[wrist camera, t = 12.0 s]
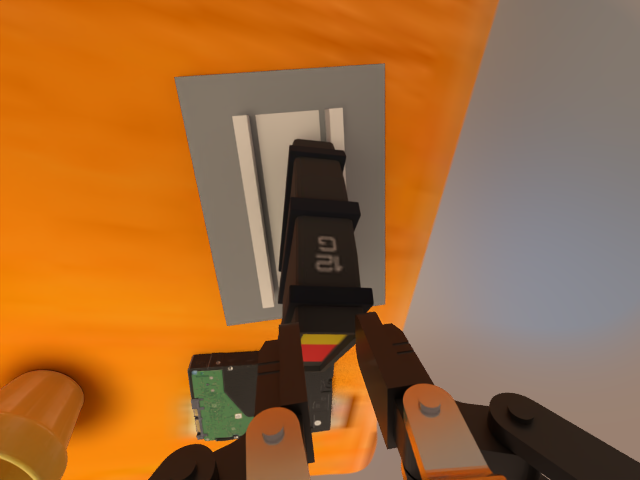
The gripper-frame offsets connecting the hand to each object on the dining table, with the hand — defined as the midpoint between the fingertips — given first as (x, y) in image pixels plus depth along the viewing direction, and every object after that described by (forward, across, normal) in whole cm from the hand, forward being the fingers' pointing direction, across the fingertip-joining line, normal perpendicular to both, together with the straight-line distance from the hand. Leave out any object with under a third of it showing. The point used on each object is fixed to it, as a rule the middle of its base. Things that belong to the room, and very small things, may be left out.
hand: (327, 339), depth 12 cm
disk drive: (+20, +6, +20) cm, 29 cm away
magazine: (+17, 0, 0) cm, 17 cm away
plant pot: (+19, +27, +17) cm, 37 cm away
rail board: (+19, 0, 0) cm, 19 cm away
